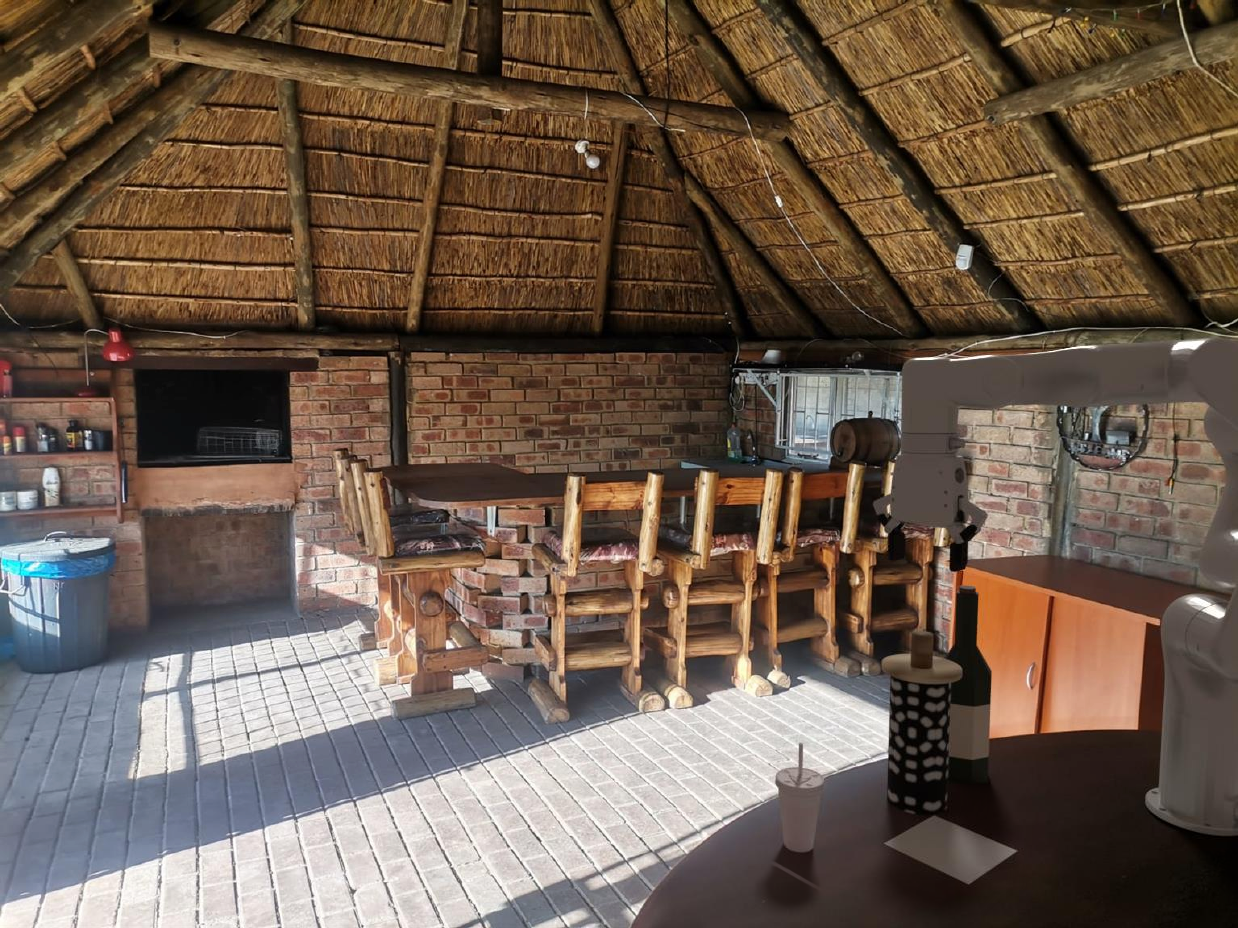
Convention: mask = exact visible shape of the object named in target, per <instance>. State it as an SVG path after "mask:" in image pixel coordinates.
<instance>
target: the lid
mask: <svg viewBox="0 0 1238 928" xmlns="http://www.w3.org/2000/svg"><path fill="white" fill-rule="evenodd" d="M934 635H935V634H934V633H932V632H930V631H925V630H914V631H911V638H910V640H911V641H910V653H898V654H897V653H896V654H893V655H888V656H886V657H884V658H883V659H882V660H881V670H882V671H883V673H885V674H887V675H888V676H889V677H890V676H892V677H895V678H897V679H901V680H904V681H909V682H915V683H923V684H946V683H952V682H955V681H958V680H960V679H961V678H962V668H961V666H959V665H958V664H957V663H955V662H952V661H950V660H947V659H944V658H945V657H940V656H936V655H935V656H934Z"/></svg>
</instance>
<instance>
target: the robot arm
mask: <svg viewBox="0 0 1238 928" xmlns="http://www.w3.org/2000/svg"><path fill="white" fill-rule="evenodd" d="M1174 403H1175V404H1176V403H1177V404H1178V403H1203V404H1207V405H1208V407H1207V409H1206V411H1205V413H1204V417H1203V430H1204V433H1205V435H1206V438H1207V439H1208V441H1209V443H1211V444H1212V447H1214V449H1215V450H1216V451H1217V453H1218V455H1219V456H1220V458H1221V460H1222V462H1223V466H1224V471H1225V484H1224V488H1223V491H1222V495H1221V498H1220V501H1219V504H1218V506H1217V509H1216V511H1215V514H1214V517H1213V519H1212V521H1211V523H1210V525H1209V528H1208V531H1207V533H1206V535H1205V538H1204V540H1203V542H1202V545H1201V549H1200V551H1199V555H1198V569H1199V571H1200V572H1201V574H1202V575H1203V577H1204V578H1205V579H1206V580H1207V581H1208V582H1210V583H1211V584H1213V585H1215V586H1217V587H1219V588H1222V589H1224V590H1226V591H1229V592H1231V593H1232V594H1231V597H1230V600H1226V599H1224V598H1221V597H1218V596H1215V595H1212V594H1207V593H1191V594H1186V595H1183V596H1180V597H1179V598H1176V599H1175V600H1174V601H1172V602H1171V603H1170V604H1169V606H1168V607H1167V608H1166V609H1165V611H1164V612H1163V616H1162V619H1161V622H1160V623H1161V624H1160V640H1161V647H1162V654H1163V655H1162V656H1163V663H1164V687H1163V688H1164V691H1163V692H1164V693H1163V707H1162V708H1163V709H1162V726H1161V742H1160V744H1161V745H1160V759H1159V779H1158V781H1159V782H1158V787H1154V788H1152V789H1150V790H1149V791H1148V792H1146V794H1145V805H1146V808H1147V809H1148V810H1149V811H1150V812H1151V813H1152V814H1153V815H1155V816H1156V817H1158V818H1159V819H1161V820H1162V821H1165V822H1166V823H1169V824H1172V825H1173V826H1175V827H1176V826H1177V827H1179V828H1182V829H1185V830H1188V831H1191V832H1195V833H1199V834H1204V835H1209V836H1220V837H1234V836H1238V342H1237V341H1235V340H1233V339H1230V338H1224V337H1221V336H1220V337H1214V336H1213V337H1205V338H1192V339H1179V340H1177V339H1176V340H1163V341H1161V340H1160V341H1148V342H1147V341H1145V342H1130V343H1128V342H1127V343H1112V344H1111V343H1109V344H1092V345H1083V346H1074V347H1069V348H1064V349H1057V350H1052V351H1043V352H1036V353H1025V354H1024V353H1021V354H1010V355H1009V354H1006V355H998V354H987V355H985V354H984V355H983V354H982V355H974V356H969V357H965V358H958V359H957V358H956V359H953V358H950V357H915V358H910V359H908V360H906V361H905V362H904V363H903V366H902V370H901V408H900V409H901V410H900V411H901V412H900V413H901V418H900V419H901V420H900V453H897V454H896V459H895V461H894V467H893V471H892V477H891V486H890V487H891V488H890V493H889V494H886V495H884V496H882V497H880V498H878V499H876V500H874V501H873V503H872V506H873V508H874V511H875V513H876V515H877V520H878V522H879V523H880V524H881V526H882V527H883V531H884V533H885V534H887V553H888V561H890V562H895V561H900V560H903V559H905V556H906V534H905V532H904V531H902V529H904V527H906V525H907V524H909V525H916V526H923V527H924V526H925V527H931V528H939V529H945V530H946V531H947V533H948V534H949V536H950V537H951V539H952V540H953V542H950V544H949V567H948V568H949V571H950V572H954V573H956V572H960V571H964V570H966V567H967V565H968V562H969V560H968V559H969V542H971V541H972V540H973V538H974V537H976V536H978V534H979V533H980V532H981V531H982V527H983V526H984V524H985V522H986V521H987V518H988V517H989V515H988V513H987V512H986V511H985V510H983V509H982V508H980V507H978V506H977V505H976V504H974V503H973V502H971V501H969V485H968V477H967V470H966V466H965V461H964V456H963V455H958V452H959V450H960V449H964V448H965V447H966V440H965V439H964V438H960V437H959V433H958V425H959V423H958V421H959V420H958V419H959V418H958V417H959V407H961V408H968V409H979V410H988V411H992V410H1000V409H1003V408H1006V407H1008V406H1032V405H1033V406H1036V405H1037V406H1042V405H1043V406H1044V405H1045V406H1059V407H1066V408H1067V407H1068V408H1102V407H1116V406H1137V405H1139V406H1140V405H1155V404H1156V405H1157V404H1174ZM888 506H889V507H890V510H889V511H890V513H889V511H888ZM970 517H971V521H970V524H969V525H967V526H966V525H965V524H967V523H968V521H969V518H970Z"/></svg>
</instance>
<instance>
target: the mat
mask: <svg viewBox="0 0 1238 928" xmlns="http://www.w3.org/2000/svg"><path fill="white" fill-rule="evenodd" d="M883 845H885V846H887V847H889V848H892V849H893V850H896V851H898V852H900V853H902V854H904V855H906V856H908V857H910V858H913V859H915V860H917V861H919V862H920V863H921V862H922V863H923V864H925V865H927V866H929V867H931V868H934V869H936V870H938V871H940V872H941V873H944V874H946V875H947V876H950V877H952V878H954V879H956V880H959V881H961V882H963V883H965V884H967V885H970V884H971V883H973V882H975V881H976V880H977V879H979V878H980V877H982V876H983V875H985V874H987V873H988V872H989V871H990V870H992V869H994V868H995V867H996V866H998V865H999V864H1001V863H1002V862H1004V861H1005V860H1007V859H1008V858H1009V857H1011V856H1013V855H1014V854H1015V853H1018V850H1017V849H1014V848H1013V847H1009V846H1007V845H1005V844H1002V843H1000V842H997V841H995V840H993V839H990V838H988V837H986V836H983V835H981V834H978V833H976V832H974V831H973V830H969V829H967V828H965V827H962V826H960V825H958V824H956V823H953V822H951V821H948V820H945V819H944V818H941V817H939V816H937V815H933V816H931V817H928V818H927V819H925V820H924V821H921V822H920V823H918V824H916V825H915V826H913V827H910V828H908V829H907V830H905V831H903V832H901V833H900V834H898V835H897V836H895V837H893V838H891V839H889V840H888V841H886V842H884V843H883Z"/></svg>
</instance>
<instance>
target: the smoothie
mask: <svg viewBox="0 0 1238 928" xmlns="http://www.w3.org/2000/svg"><path fill="white" fill-rule="evenodd" d="M803 757H804V743H803V742H799V743H798V763H797V764H798V766H789V767H785V768H783V769H780V770H778V771H777V772H776V774H775V780H774V784H775V786H776V787H777V789H778V790H777V791H778V798H779V800H778V801H779V809H780V810H779V811H780V816H781V818H780V819H781V826H782V837H783V845H784V847H785V848H787V849H788V850H789V851H791V852H796V853H807V852H811V851H812V850H813V848H814V845H815V844H814V842H815V837H816V830H817V829H816V828H817V824H818V823H817V822H818V817H819V816H818V815H819V810H820V803H821V796H822V792H823V791H824V789H825V788H826V787H825V778H824V776H823V775H822V774H820V773H819V772H818V771H816V770H814V769H810V768H807V767H803V765H804V764H803V762H804V758H803Z"/></svg>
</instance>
